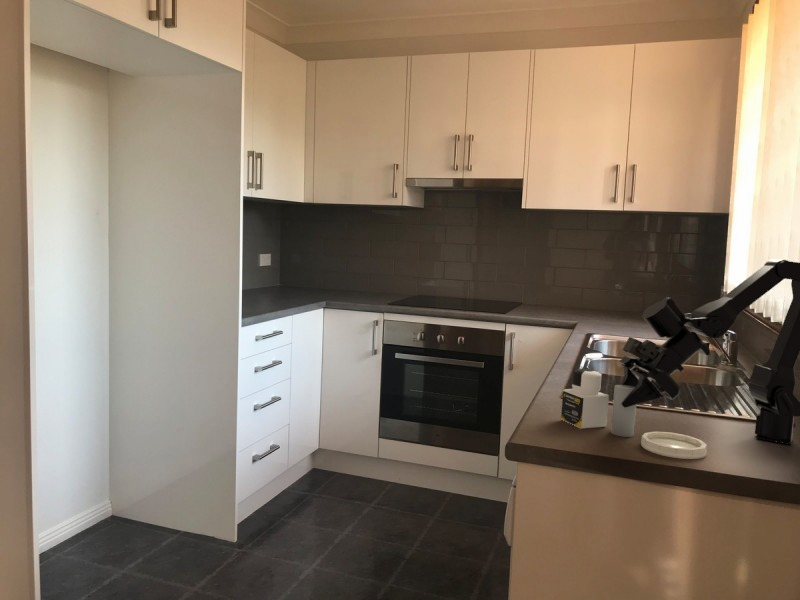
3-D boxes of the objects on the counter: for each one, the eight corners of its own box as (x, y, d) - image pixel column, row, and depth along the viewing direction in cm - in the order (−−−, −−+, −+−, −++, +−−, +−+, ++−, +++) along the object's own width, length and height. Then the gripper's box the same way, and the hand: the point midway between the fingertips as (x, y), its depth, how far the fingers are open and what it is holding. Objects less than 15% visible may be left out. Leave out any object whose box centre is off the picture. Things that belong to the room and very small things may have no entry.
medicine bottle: (560, 420, 151) (564, 367, 150) (585, 418, 153) (590, 366, 152) (580, 429, 144) (584, 374, 143) (606, 427, 147) (611, 373, 146)
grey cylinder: (635, 433, 143) (640, 387, 142) (630, 438, 139) (634, 390, 138) (614, 429, 145) (618, 383, 145) (608, 433, 142) (612, 387, 141)
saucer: (710, 448, 135) (711, 439, 135) (700, 463, 125) (701, 454, 125) (648, 436, 141) (649, 428, 141) (634, 449, 131) (635, 440, 131)
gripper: (631, 320, 150) (579, 366, 150) (670, 331, 131) (610, 384, 131) (662, 356, 151) (610, 402, 151) (705, 373, 132) (646, 425, 133)
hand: (618, 402), depth 142 cm, fingers closed on grey cylinder, 5 cm apart
